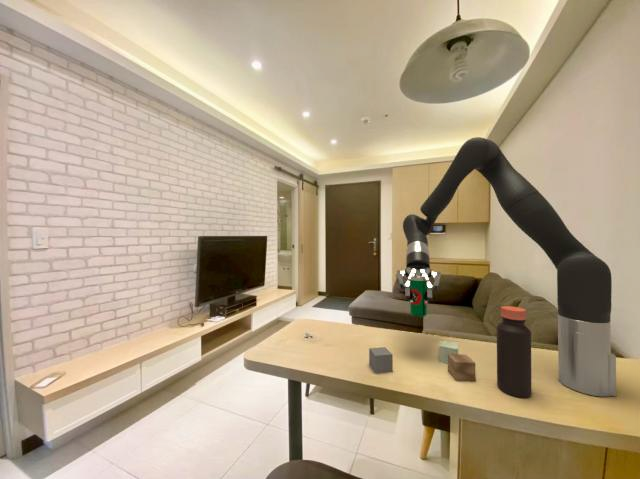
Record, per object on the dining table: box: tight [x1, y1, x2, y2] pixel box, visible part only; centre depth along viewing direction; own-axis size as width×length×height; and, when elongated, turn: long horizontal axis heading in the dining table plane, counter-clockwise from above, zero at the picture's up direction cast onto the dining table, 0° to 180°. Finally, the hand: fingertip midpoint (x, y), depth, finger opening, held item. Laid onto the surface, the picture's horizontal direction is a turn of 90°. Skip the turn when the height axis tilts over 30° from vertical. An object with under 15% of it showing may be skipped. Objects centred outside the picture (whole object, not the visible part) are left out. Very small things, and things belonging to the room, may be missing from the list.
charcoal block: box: [368, 346, 394, 374], centre depth 74 cm, size 5×5×5 cm
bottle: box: [496, 305, 533, 399], centre depth 63 cm, size 7×7×20 cm
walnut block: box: [447, 353, 476, 383], centre depth 70 cm, size 5×5×5 cm
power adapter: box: [304, 329, 314, 339], centre depth 98 cm, size 3×3×3 cm
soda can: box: [409, 275, 428, 318], centre depth 80 cm, size 5×5×12 cm
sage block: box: [438, 339, 459, 365], centre depth 79 cm, size 5×5×5 cm
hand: (418, 299), depth 78 cm, fingers closed on soda can, 5 cm apart
